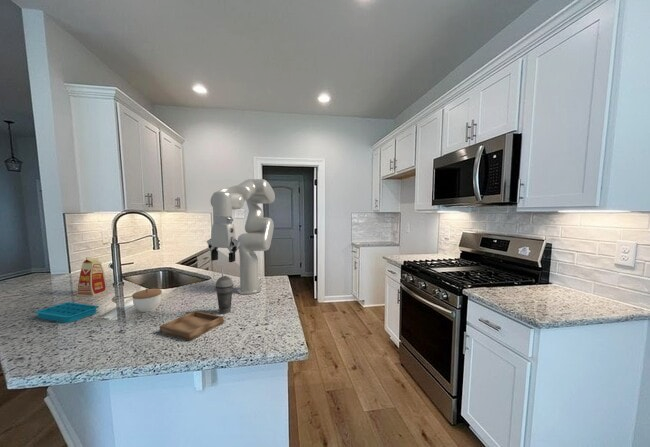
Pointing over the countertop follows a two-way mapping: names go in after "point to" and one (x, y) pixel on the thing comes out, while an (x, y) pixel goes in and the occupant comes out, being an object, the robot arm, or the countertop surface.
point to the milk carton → (91, 278)
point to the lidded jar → (147, 299)
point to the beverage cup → (224, 293)
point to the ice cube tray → (67, 312)
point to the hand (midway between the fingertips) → (223, 260)
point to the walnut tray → (191, 325)
